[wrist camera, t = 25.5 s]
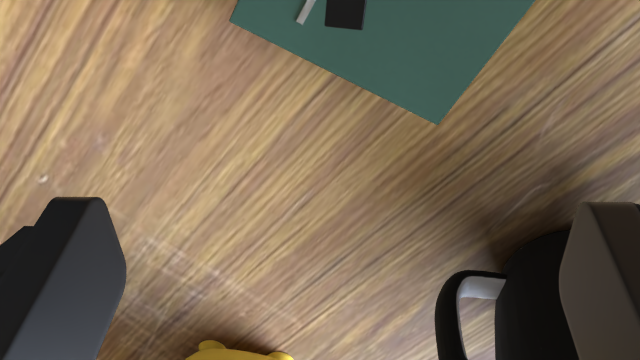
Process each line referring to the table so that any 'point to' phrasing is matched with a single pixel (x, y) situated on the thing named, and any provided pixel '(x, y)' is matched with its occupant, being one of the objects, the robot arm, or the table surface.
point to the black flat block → (345, 14)
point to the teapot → (231, 353)
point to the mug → (513, 305)
